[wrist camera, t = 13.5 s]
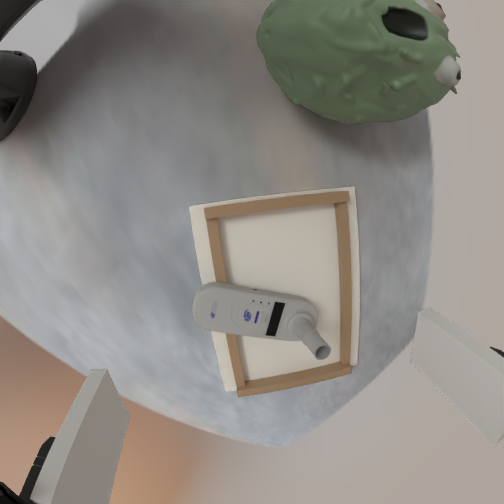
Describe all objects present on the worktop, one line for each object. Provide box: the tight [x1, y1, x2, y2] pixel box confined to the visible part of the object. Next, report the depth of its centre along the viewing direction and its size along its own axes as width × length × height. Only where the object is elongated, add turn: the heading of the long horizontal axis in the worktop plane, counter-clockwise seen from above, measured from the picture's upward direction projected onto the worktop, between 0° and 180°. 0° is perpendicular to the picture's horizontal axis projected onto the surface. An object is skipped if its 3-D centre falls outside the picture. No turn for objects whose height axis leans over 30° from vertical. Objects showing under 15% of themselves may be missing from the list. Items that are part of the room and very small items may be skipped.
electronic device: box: [192, 282, 331, 360], centre depth 29 cm, size 5×10×15 cm
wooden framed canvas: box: [189, 186, 360, 397], centre depth 34 cm, size 26×20×3 cm
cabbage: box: [257, 0, 461, 124], centre depth 20 cm, size 16×19×20 cm
